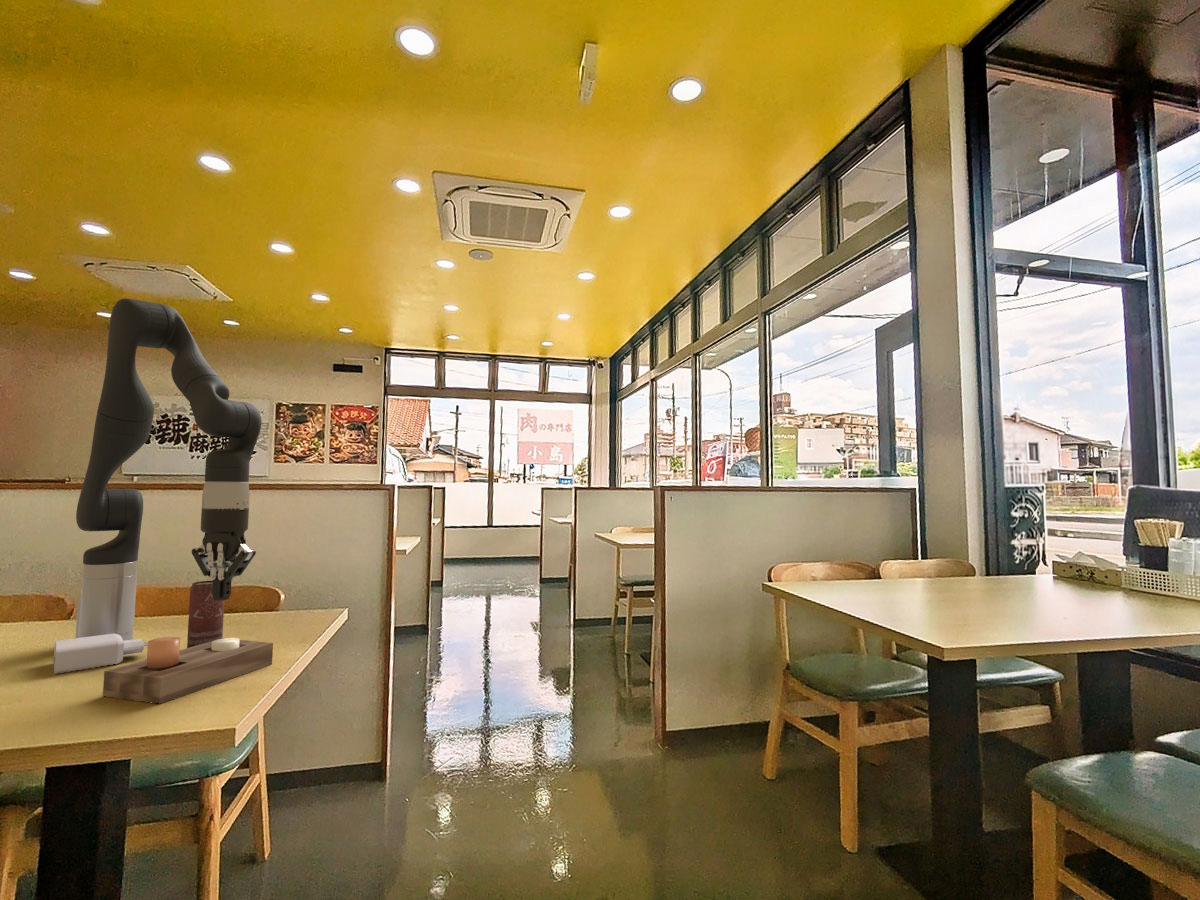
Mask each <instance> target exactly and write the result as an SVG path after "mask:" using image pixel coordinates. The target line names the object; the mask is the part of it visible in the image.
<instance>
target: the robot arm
mask: <svg viewBox="0 0 1200 900" xmlns="http://www.w3.org/2000/svg"><path fill="white" fill-rule="evenodd" d="M108 325H109V327H108V337H107V338H108V339H107V348H106V349H107V351H106V353H107V354H106V363H105V371H104V377H103V384H102V389H101V394H100V398H99V403H98V407H97V412H96V416H95V423H94V428H93V436H92V443H91V450H90V455H89V462H88V463H87V464H88V465H87V469H86V471H85V476H84V479H83V481H82V487H81V491H80V494H79V497H78V501H77V506H76V511H75V512H76V513H75V515H76V516H75V519H76V524H77V527H78V528H79V529H80V530H82V531H84V532H111V531H112V532H114V531H118V533H117V535H116V536H115V537H114V538H112V539H111V540H109V541H107V542H105V543H103V544H100V545H97V546H94V547H90V548H88V549H86V550H85V551H84V552H83V555H82V571H81V572H82V573H81V588H80V589H81V592H80V598H78V600H77V606H76V607H77V609H76V621H75V622H76V624H75V625H76V626H75V638H82V637H90V636H98V635H106V634H118V635H121V637H122V639H123V641H126V640H134V629H135V627H134V626H135V613H136V611H135V609H136V599H137V597H136V595H137V581H138V580H137V579H138V559H139V550H140V539H141V538H140V537H141V528H142V520H143V516H144V515H143V514H144V498H143V494H142V492H141V491H140V490H138V489H136V488H107V486H108V483H109V482H110V480H111V479H112V476H113V475H114V473H116V471H117V470H118V469H119V468H120V467H121V466H122V465H123V464H125V462H126V461H128V460H129V459H130V458H132V456H133V455H134V454H135V453H137V452H138V451H140V449H141V448H142V447H143V446H144V445H146V444H145V443H147V441H148V440H149V437H150V434H151V431H152V426H153V422H154V421H153V419H154V414H155V407H154V403H153V400H152V399H151V396H150V395H149V393H148V390H146V389H147V388H146V387H145V386H144V384H143V382H142V380H141V378H140V376H139V374H138V371H137V367H136V354H137V348H138V347H143V348H151V349H152V348H153V349H165V350H166V351H168V352H169V353H170V354H172V356H174V358H173V362H172V363H171V364H172V365H171V369H170V370H171V371H170V372H171V378H172V382H174V384H175V386H176V388H177V389H178V390H179V391H180V393H181V394H182V395H183V397H185V399H186V400H187V401H188V402H189V405H190V408H191V411H192V415H193V417H194V418H193V419H194V421H195V424H196V426H197V428H199V430H200V431H201V432H203V433H205V434H206V435H209V436H212V437H220V438H222V437H223V438H229V440H228V443H227V444H226V446H225V448H223V449H222V448H221V449H217V450H212V451H209V452H208V453H207V455H206V457H205V468H204V485H203V489H202V494H201V513H200V531H201V532H202V533H204V535H203V537H202V543H201V545H199V547H194V548H192V549H191V554H192V556H193V558H194V560H195V562H196V564H197V565H198V567H199V569H200V571H201V573H202V575H203V576H204V577H209V578H210V580H211V581H213V585H212V596H213V600H217V601H223V600H224V601H227V600H229V599H230V597H231V594H232V580H233V579H234V578H236V577H239V576H242V574H243V573H244V571H245V570H246V569H247V567H248V566H249V565H250V563H251V562H252V561H253V559H254V557H255V556H256V555H257V554H256V553H257V551H256V549H250V548H249V547H248V546H247V545H246V544H247V540H246V538H245V532H246V531H247V530H249V517H250V515H249V513H250V498H251V497H250V494H251V493H250V487H249V484H250V483H249V481H250V461H251V458H252V456H253V453H254V450H255V446H256V444H257V440H258V438H259V436H260V434H261V429H262V425H263V424H262V423H263V422H262V417H261V416H262V415H261V413H260V411H259V409H258V407H256V405H254V404H252V403H248V402H244V401H243V402H242V401H237V400H230V399H229V398H230V390H229V387H228V385H227V384H226V382H225V381H224V380H223V379H222V378H221V377H220V376H219V374H218V373H217V371H216V370H215V369H213V367H212V366H211V365H210V364H209V362H208V361H207V360H206V358H205V357H204V355H203V354H202V352H201V350H200V348H199V346H198V344H197V342H196V340H195V338H194V336H193V335H192V333H191V331H190V329H189V327H188V325H187V324H186V321H185V320H184V318H183V316H181V314H180V313H179V311H177V309H175V308H174V307H172V306H170V305H166V304H164V303H163V304H162V303H159V302H158V303H157V302H152V301H147V300H139V299H136V298H135V299H134V298H125V297H124V298H121V299H119V300H118V301H116V302H115V304H114V306H113V307H112V311H111V314H110V319H109V324H108Z"/></svg>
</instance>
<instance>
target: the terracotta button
mask: <svg viewBox="0 0 1200 900" xmlns="http://www.w3.org/2000/svg"><path fill="white" fill-rule="evenodd" d="M147 642H148V646H146V647H147V650H146V651H147V653H146V659H147V665H146V667H147V668H164V667H169V666H173V665H176V664H178V663H179V653H180V650H181V637H179V636H165V637H158V638H153V639H151V640H148V641H147Z"/></svg>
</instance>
